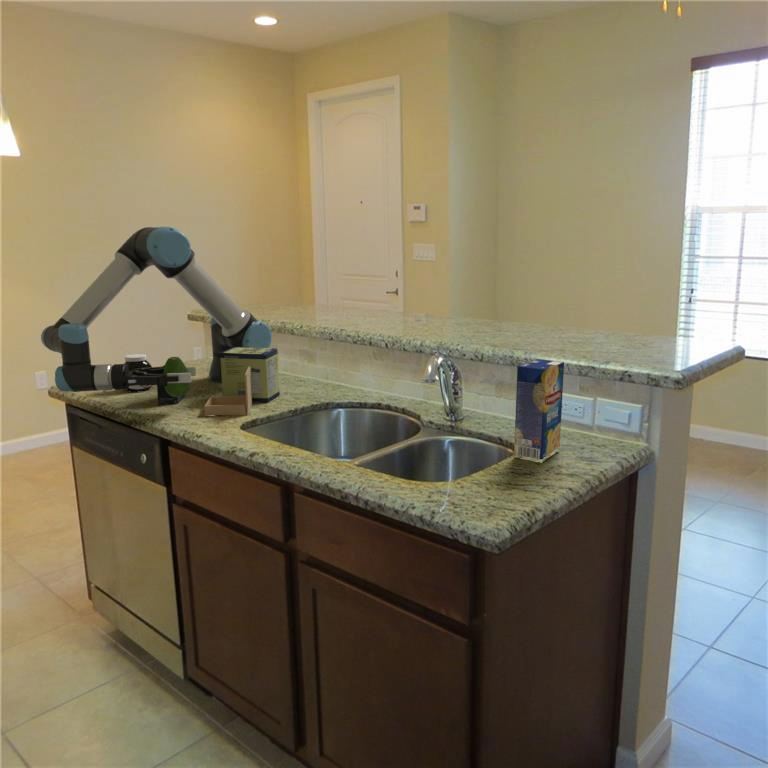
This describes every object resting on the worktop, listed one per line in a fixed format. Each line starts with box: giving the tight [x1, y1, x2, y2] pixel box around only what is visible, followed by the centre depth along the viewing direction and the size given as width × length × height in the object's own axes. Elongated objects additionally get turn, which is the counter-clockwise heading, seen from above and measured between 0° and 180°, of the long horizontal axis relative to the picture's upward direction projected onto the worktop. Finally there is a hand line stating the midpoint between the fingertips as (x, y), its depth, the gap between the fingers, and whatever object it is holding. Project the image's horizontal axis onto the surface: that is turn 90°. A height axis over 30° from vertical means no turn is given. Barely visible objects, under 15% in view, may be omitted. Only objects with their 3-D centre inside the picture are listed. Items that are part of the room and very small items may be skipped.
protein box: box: [220, 347, 281, 404], centre depth 223 cm, size 10×16×16 cm
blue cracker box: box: [513, 358, 565, 459], centre depth 165 cm, size 7×11×22 cm, turn 144°
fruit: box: [163, 356, 192, 397], centre depth 206 cm, size 8×8×12 cm
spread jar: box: [123, 353, 154, 393], centre depth 238 cm, size 12×11×12 cm
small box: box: [156, 364, 186, 404], centre depth 222 cm, size 11×6×10 cm, turn 4°
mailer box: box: [203, 367, 253, 416], centre depth 208 cm, size 12×12×12 cm
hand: (193, 374), depth 206 cm, fingers closed on fruit, 8 cm apart
